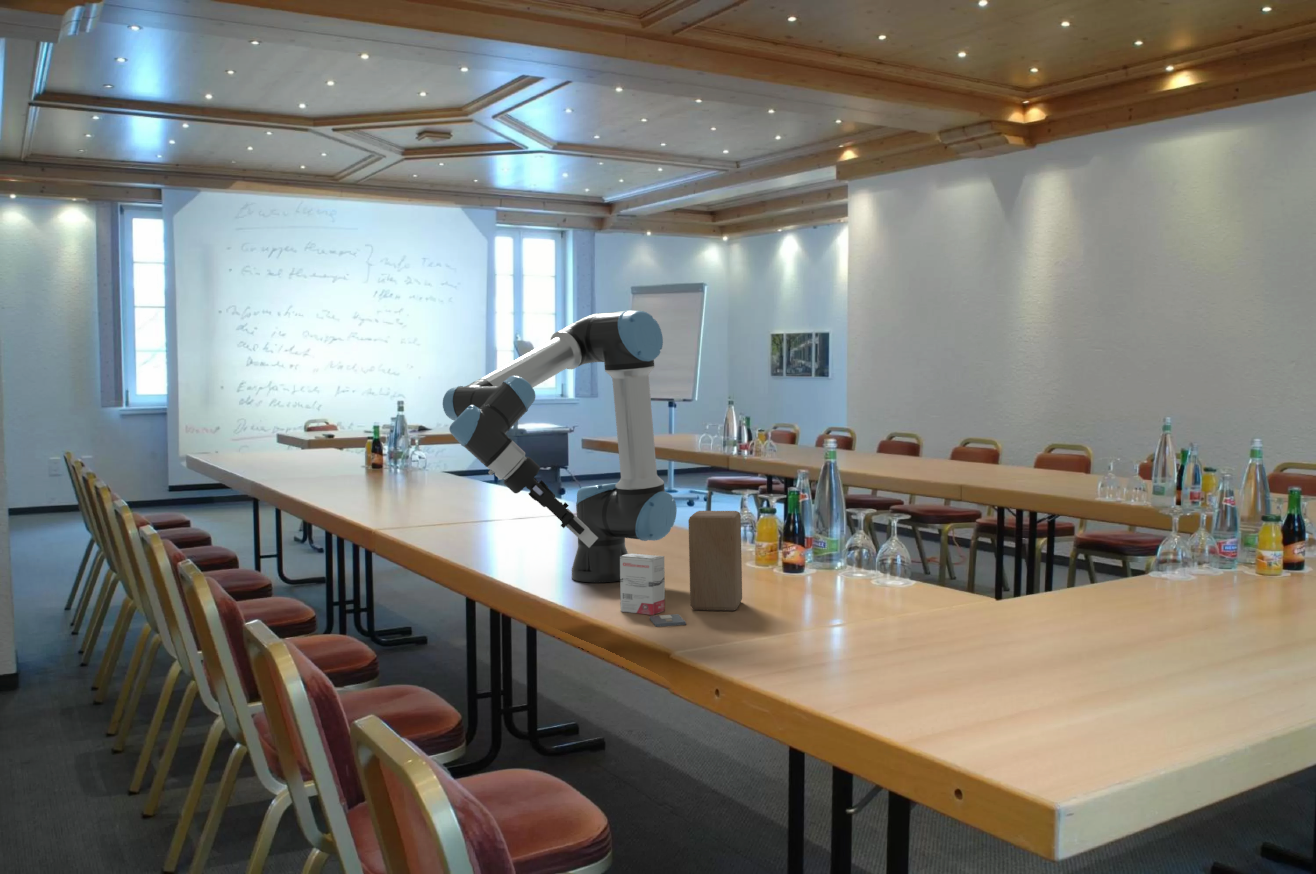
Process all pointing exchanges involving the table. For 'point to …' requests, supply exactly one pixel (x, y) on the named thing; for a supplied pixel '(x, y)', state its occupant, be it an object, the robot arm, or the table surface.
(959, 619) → the table surface
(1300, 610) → the table surface
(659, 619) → the card
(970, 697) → the table surface
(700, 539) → the block
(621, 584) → the ink box
